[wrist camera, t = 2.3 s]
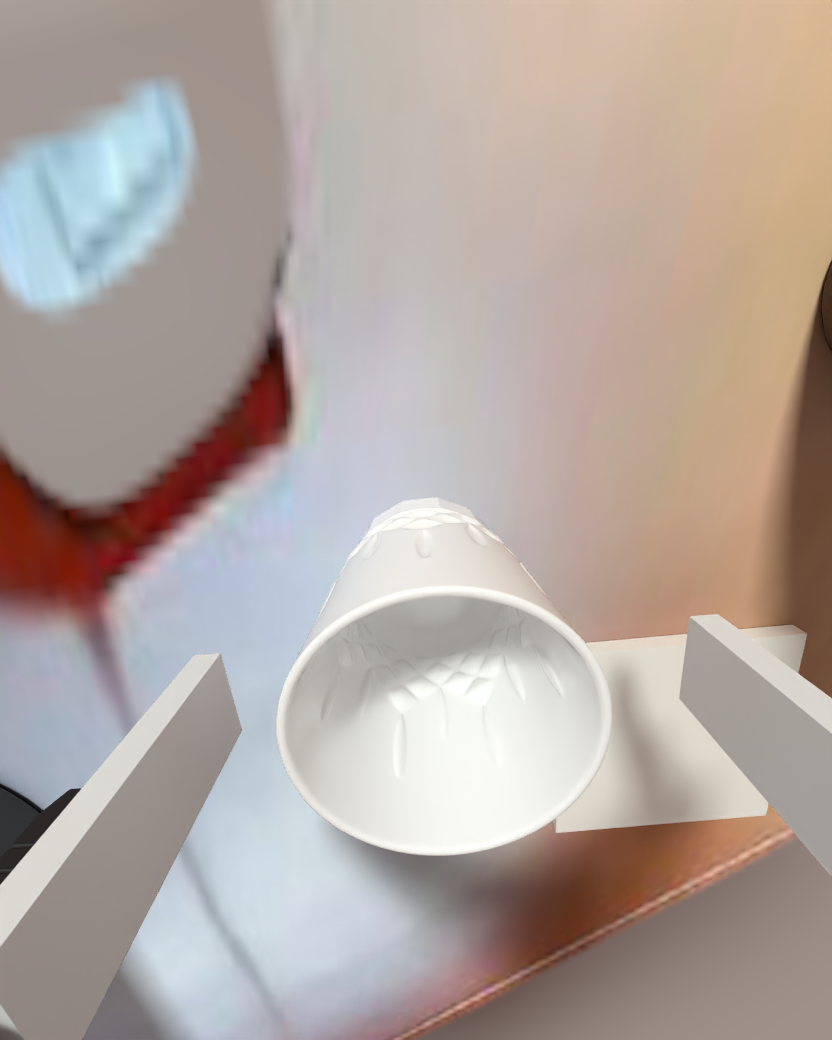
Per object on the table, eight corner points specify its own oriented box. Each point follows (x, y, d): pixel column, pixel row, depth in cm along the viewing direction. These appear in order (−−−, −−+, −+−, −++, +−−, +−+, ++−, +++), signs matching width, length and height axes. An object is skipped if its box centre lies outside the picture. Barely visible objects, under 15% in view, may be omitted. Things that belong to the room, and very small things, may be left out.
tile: (551, 818, 24) (555, 832, 23) (553, 645, 20) (559, 655, 20) (754, 801, 24) (765, 815, 23) (792, 624, 20) (807, 633, 20)
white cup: (506, 474, 18) (620, 568, 8) (513, 629, 20) (608, 842, 11) (329, 494, 18) (238, 609, 8) (356, 646, 20) (310, 871, 11)
